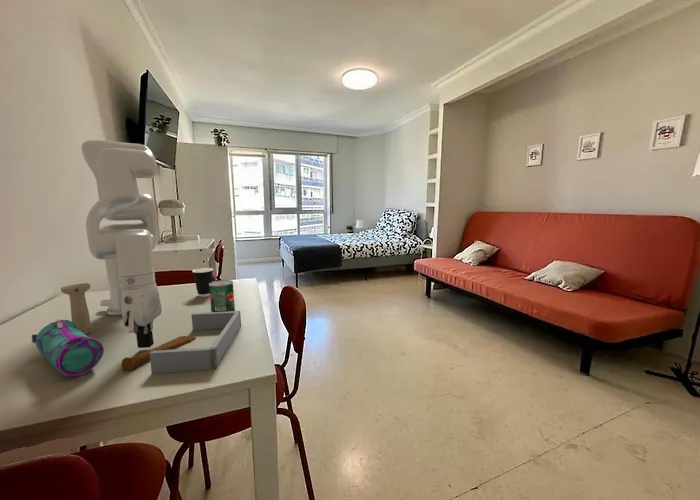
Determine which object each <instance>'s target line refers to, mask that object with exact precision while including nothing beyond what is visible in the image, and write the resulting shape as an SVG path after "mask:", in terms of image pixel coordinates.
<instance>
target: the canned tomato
mask: <svg viewBox="0 0 700 500" xmlns="http://www.w3.org/2000/svg"><path fill="white" fill-rule="evenodd" d="M233 281H234V280H229V279H223V280H221V279H220V280H214V281H212V282H211V283H209V291H210V295H209V298H210V299H209V300H210V303H209V304H210V312H230V311H236V308H235V306H236V305H235V291H234V282H233Z"/></svg>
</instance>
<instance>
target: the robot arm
mask: <svg viewBox="0 0 700 500" xmlns="http://www.w3.org/2000/svg"><path fill="white" fill-rule="evenodd" d="M81 153H82V157H83V158H84V161H85V163H86V165H87V167H88V168H89V170H90V171H91V173H92V174H93V176H94V178H95V181H96V186H97V187H96V189H97V195H98V200H97V201H96V202H95V203H94V204H93V205H92V207H91V208H90V210H89V211H88V214H87V216H86V219H85V230H86V236H87V237H86V238H87V245H88V250H89V252H90V254H91V255H92V257H93V258H95V259H96V260H102V261H103V260H104V263H105V269H106V276H107V284H108V290H109V291H108V292H109V299H101V300H100V304H99V305H100V307H106V306H107V309H106V314H107V315H109V316H121V317H122V323H123V325H124V327H126V328H128V334H134V335H136V342H137V343H136V344H137V348H139V349H144V348H151V347H152V346H153V345H154V344H155V343H154V335H153V329H154V320H156V319H157V318H158V317H159V316H160V315H162V312H163V311H162V304H161V297H160V293H159V289H158V285H157V283H156V276H155V275H156V274H155V268H154V267H155V266H154V259H153V257H154V256H153V250H154V249H155V247H156V246H157V245H159V228H158V226H159V225H158V217H157V216H158V214H157V207H156V203H155V200H154V198H153V197H152V196H151V195H150V194H148V193H140V191H139V186H138V182H137V179H155V177H156V176H157V175H158V163H157V159H156V157H155V155H154V153H153V152H152V150H151V149H150V148H149V147H148V146H147V145H145V144H142V143H133V142H132V143H131V142H124V141H123V142H122V141H121V142H120V141H115V140H102V139H101V140H100V139H90V140H85V141H84V142H82V144H81ZM103 219H105V220H108V221H113V222H117V221H118V222H119V221H120V222H121V221H122V222H124V221H126V222H127V221H141V223H139V222H138V223H137V222H136V223H114V224H113V223H112V224H107V225H104V226H102V227H101V228H100V223H101V221H102V220H103Z"/></svg>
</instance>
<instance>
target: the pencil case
mask: <svg viewBox="0 0 700 500" xmlns="http://www.w3.org/2000/svg"><path fill="white" fill-rule="evenodd" d="M31 343H32V344H35V347H36V348H37V349H38V352H39V353H40V354H41V355H42V356H43V357H44V358H45V359H46V360H47V361H48V363H49V364H50V365H51V366H52V367H54V368H55V369H56V371H58V372H59V373H60V374H61V375H63V376H65V377H67V378H68V377H69V378H73V377H74V378H75V377H76V378H77V377H81V376H84V375H86V374H87V373H89V372H90V371H91V370H92V369H94V368H95V367H96V366H97V365H98V363H99V362H100V361H101V359H102V358H103V355H104V352H105V351H104V350H105V349H104V345H103V343H102V342H101V341H100V340H99V339H97V338H94V337H91V336H88V335H87V334H86V335H85V334H84V333H83V332H81V331H80V330H78V327H77V325H76V324H75V323H74V322H72V320H68V319H57V320H55V321H54V322H50V323H49V324H48V325H45V326H44V327H43V328H42V329H40V331H39V332H38V333H36V334H32V335H31Z"/></svg>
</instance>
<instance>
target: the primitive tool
mask: <svg viewBox="0 0 700 500" xmlns="http://www.w3.org/2000/svg"><path fill="white" fill-rule="evenodd" d="M196 339H197V337H196V336H193V335H191V336H189V335H188V336H187V335H181V336H178V337H176V338H174V339H172V340H169V341H167V342H165V343H162V344H160V345H158V346H156V347H154V348H151V349H149V350H146V351H144V352H141V353H139V354H136V355H134V356H131V357H124V358H123V359H122V360H121V368H122V370H123V371H124V372H132V371H133V370H134V369H135V368H136V367H137V366H139V365H142V364H145V363H147V362H150V354H149V353H150V352H151V351H157V350H174V349H175V348H176V349H178V348H179V347H181V345H182V346H184V345H186V344H188V343H191V342H193V341H195V340H196Z"/></svg>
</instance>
